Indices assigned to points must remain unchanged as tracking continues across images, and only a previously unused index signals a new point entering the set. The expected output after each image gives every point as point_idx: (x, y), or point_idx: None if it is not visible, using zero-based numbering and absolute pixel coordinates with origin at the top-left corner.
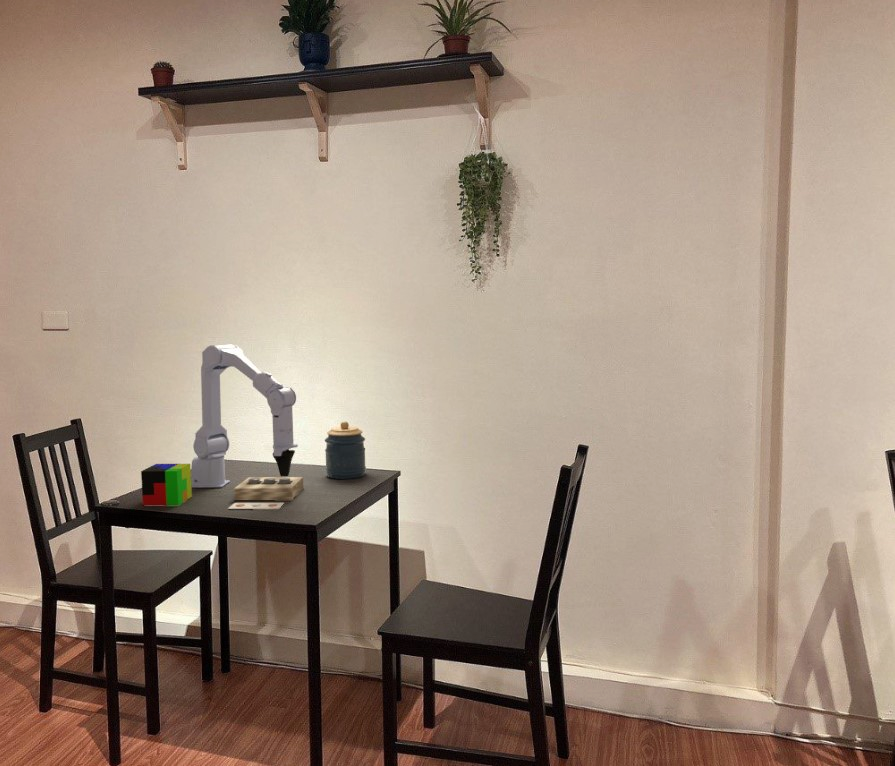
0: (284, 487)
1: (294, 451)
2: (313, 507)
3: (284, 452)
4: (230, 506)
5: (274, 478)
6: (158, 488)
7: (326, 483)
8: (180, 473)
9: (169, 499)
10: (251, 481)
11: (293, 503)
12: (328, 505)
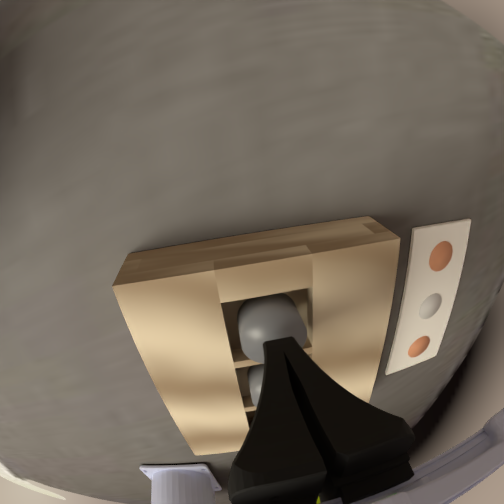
0: (379, 281)
1: (277, 476)
2: (454, 96)
3: (405, 470)
4: (420, 361)
5: (260, 386)
6: None
7: (10, 184)
8: (383, 498)
9: None
10: None
11: (409, 193)
12: (427, 39)
